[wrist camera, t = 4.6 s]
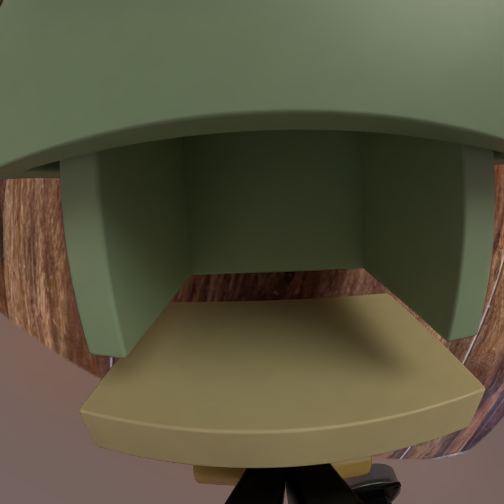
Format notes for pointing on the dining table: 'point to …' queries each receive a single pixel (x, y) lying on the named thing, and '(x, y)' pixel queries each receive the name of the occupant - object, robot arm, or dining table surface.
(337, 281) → the dining table surface
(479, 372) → the dining table surface
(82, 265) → the drawer
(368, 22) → the cabinet
